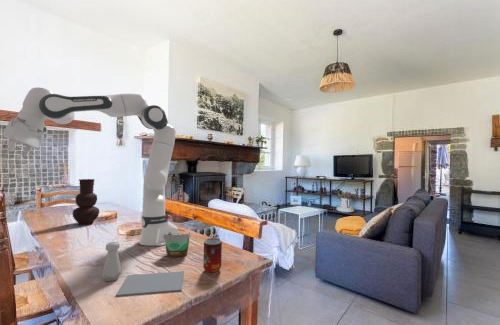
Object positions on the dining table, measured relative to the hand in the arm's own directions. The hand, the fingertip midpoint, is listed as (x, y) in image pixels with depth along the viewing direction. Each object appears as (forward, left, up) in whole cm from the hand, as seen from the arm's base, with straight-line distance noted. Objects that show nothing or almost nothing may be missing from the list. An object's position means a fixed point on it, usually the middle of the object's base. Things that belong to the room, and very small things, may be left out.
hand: (17, 153), depth 103 cm
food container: (-51, +42, -45) cm, 80 cm away
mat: (-32, +58, -45) cm, 80 cm away
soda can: (-53, +65, -45) cm, 95 cm away
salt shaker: (-23, +45, -45) cm, 68 cm away
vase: (-38, -52, -45) cm, 79 cm away
